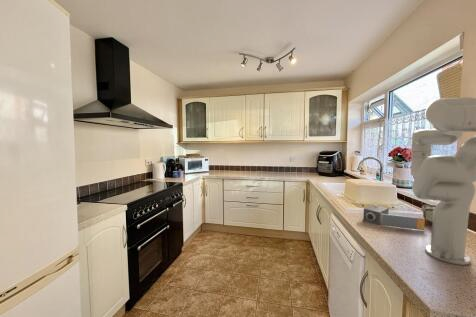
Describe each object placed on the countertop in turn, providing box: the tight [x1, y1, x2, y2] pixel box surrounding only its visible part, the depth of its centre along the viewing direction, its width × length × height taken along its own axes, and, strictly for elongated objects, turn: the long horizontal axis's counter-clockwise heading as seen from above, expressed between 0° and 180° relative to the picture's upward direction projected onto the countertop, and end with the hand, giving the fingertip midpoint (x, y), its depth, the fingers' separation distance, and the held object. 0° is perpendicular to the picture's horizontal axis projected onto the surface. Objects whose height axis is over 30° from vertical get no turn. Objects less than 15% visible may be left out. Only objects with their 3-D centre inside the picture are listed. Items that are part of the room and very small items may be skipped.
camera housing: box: [362, 204, 390, 226], centre depth 118 cm, size 14×8×8 cm, turn 126°
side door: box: [379, 213, 425, 231], centre depth 108 cm, size 18×1×6 cm, turn 69°
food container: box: [421, 204, 437, 227], centre depth 113 cm, size 12×6×10 cm, turn 84°
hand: (418, 190), depth 107 cm, fingers closed
